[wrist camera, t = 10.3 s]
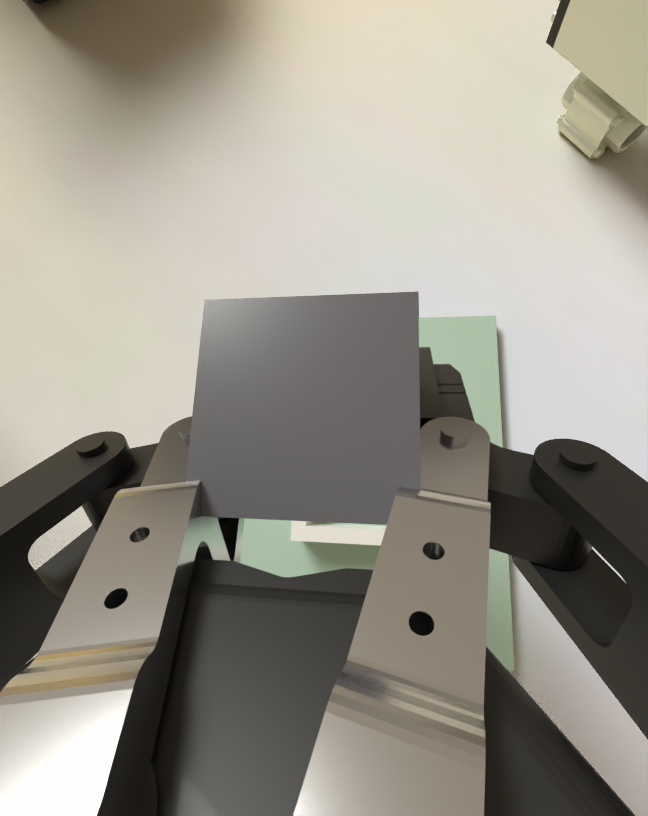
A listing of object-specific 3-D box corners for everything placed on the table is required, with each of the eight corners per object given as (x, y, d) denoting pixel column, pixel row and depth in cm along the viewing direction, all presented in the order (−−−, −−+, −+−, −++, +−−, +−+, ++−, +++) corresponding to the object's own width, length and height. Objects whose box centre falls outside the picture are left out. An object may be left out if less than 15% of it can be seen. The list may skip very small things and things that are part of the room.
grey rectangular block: (400, 510, 15) (421, 526, 6) (307, 506, 16) (181, 515, 6) (400, 417, 16) (418, 291, 6) (311, 416, 17) (204, 299, 7)
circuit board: (509, 663, 23) (530, 692, 19) (230, 638, 25) (206, 659, 22) (491, 322, 27) (507, 296, 23) (253, 328, 29) (236, 306, 26)
